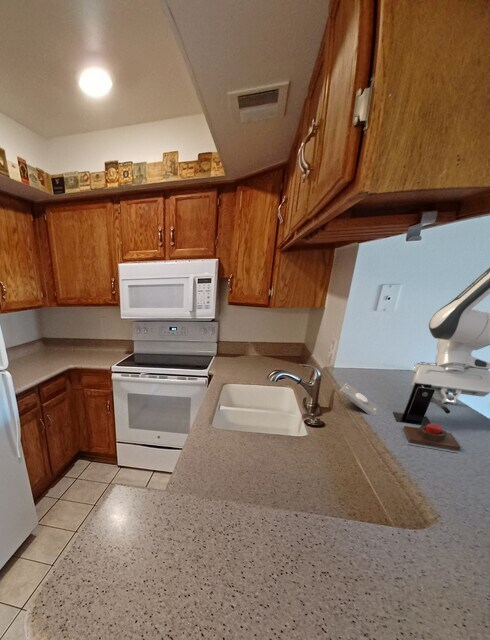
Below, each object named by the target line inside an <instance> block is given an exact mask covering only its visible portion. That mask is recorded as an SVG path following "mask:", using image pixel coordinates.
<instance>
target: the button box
mask: <svg viewBox="0 0 490 640" xmlns="http://www.w3.org/2000/svg"><path fill="white" fill-rule="evenodd" d="M426 427H427V425H426V426H422V425H420V426H419V427H415V426H407V425H403V428H402V431H403V433H404V435H405V438H406V440H407V442H408V443H410V444H406V446H410V447H411V446H412V447H418V448H421V449H422V448H423V449H429V450H435V451H441V452H447V453H450V454H451V453H452V454H457V452H458V451H460V449H461V446H460V444H459V443H458V441H457V439H456V438H455V437H454V435H453V434H452V432H447V431H446V430H445V429H442V431H441V433H440V434H434V433H430V432H428V431H426V430H425V429H426ZM414 444H416V445H414ZM418 445H422V446H418ZM425 446H427V447H425ZM431 447H434V448H431ZM437 448H438V449H437ZM439 448H441V449H439ZM443 449H446V450H443ZM449 450H450V451H449ZM455 451H457V452H455Z"/></svg>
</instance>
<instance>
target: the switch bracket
mask: <svg viewBox="0 0 490 640" xmlns="http://www.w3.org/2000/svg"><path fill="white" fill-rule="evenodd" d="M421 385H423V386H424V387H420V386H421ZM425 387H426V388H425ZM431 387H432V385H431V384H422V383H415V384H414V387H413V386H412V389H411V393H410V395H409V397H408V400H407V403H406V405H405V408H404V411H403V412H396V411H392V415H393V417H394V420H395V422H396V423H403V424H410V425H415V426H416V425H417V426H426V425H428V424H432V423H431V421H430V420H429V418H428V416H426V413H427V412H428V411H427V410H428V408H429V405H430V403H431V402H430V401H431V399H432V396H433V394H434V391H435V389H434V388H431ZM416 389H417V390H416ZM415 390H416V391H415Z"/></svg>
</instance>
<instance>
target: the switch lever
mask: <svg viewBox="0 0 490 640" xmlns="http://www.w3.org/2000/svg"><path fill="white" fill-rule="evenodd" d="M420 387H424V386H423V385H421V386H420ZM425 388H426V387H425ZM416 390H417V389H416ZM416 390H415V391H416ZM431 401H433V402H434V403H433V404H435V405H437V406H438V407H439V408H440V409H442V410H443V411H444V413H445V414H447V415H448V414H450V413H451V410H450V409H449V408H448V405H447V404H442V403H440V402H439V401H438V400H437V399H435V398H434V397H433V396H432V399H431Z"/></svg>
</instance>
